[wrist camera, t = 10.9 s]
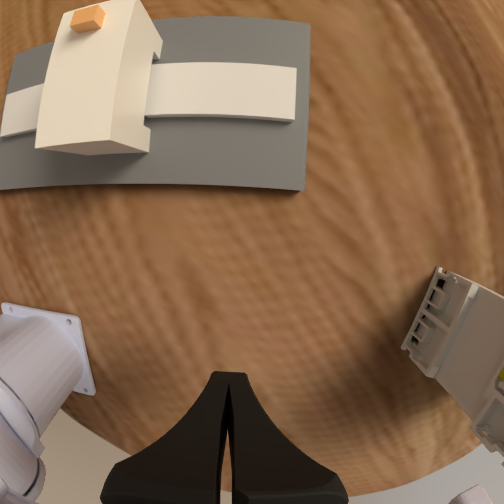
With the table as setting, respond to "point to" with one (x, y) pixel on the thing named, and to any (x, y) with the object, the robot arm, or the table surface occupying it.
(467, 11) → the table surface
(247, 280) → the table surface
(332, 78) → the table surface
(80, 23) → the block
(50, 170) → the din board
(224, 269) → the table surface
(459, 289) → the circuit breaker
